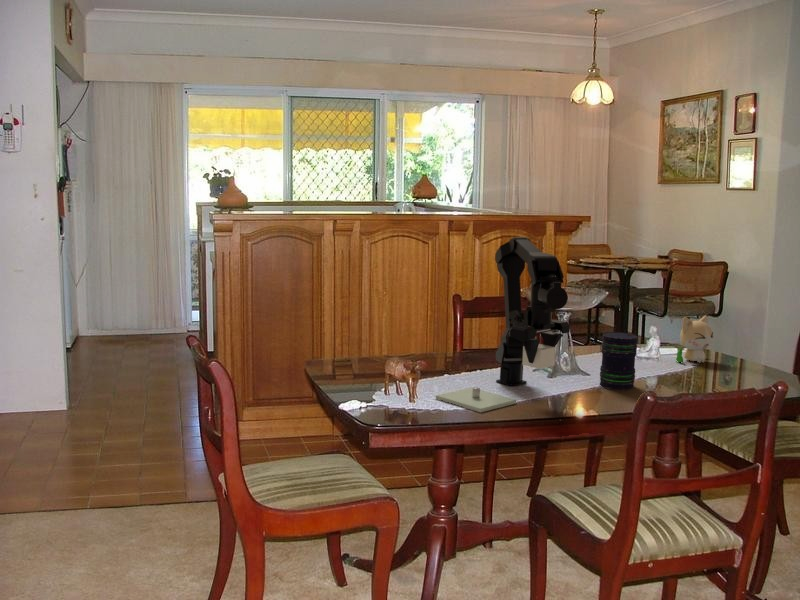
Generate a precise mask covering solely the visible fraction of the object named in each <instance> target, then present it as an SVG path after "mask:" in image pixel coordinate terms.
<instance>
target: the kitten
mask: <svg viewBox="0 0 800 600" xmlns="http://www.w3.org/2000/svg"><path fill="white" fill-rule="evenodd" d="M679 341H680V343H681V345H682V346H683V347H684V348H685V349H686V350H685V351H684V355H683V356H682V354H683V347H680V348H679V349H678V351H676V352H677V353H676V359H675V361H676V360H677V361H678V362H683V363H684V359H685V360H686V361H689V360H690V362H694V361H697V363H698V362H699V363H698V364H700V363H705V362H706V354H705V351H704V350H706V349H708V348H710V347H711V346H712V344H713V342H714V332H713V330H712V328H711V326H710V325H709V324H708V316H707V315H706V314H705V315H703V317H701V318H700V319H699V320H692V319H690V318H689V317H687V316H684V317H683V319H682V328H681V330H680V334H679ZM677 361H676V362H677Z"/></svg>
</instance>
